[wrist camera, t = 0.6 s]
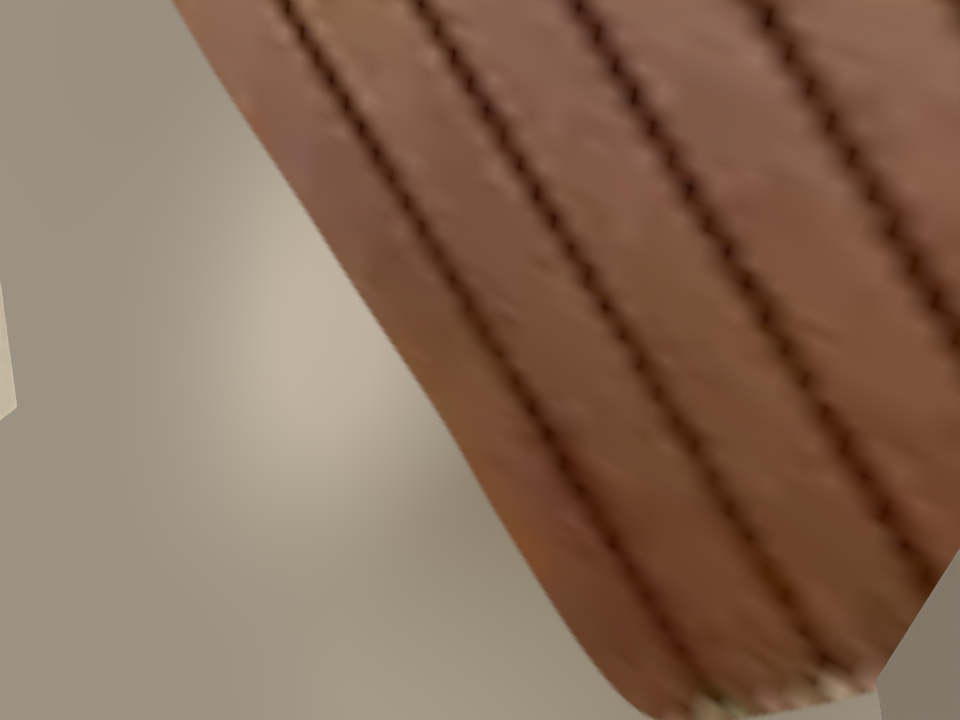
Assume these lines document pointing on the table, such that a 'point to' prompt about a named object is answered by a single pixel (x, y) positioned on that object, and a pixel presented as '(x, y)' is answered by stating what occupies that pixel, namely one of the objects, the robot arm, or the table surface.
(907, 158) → the table surface
